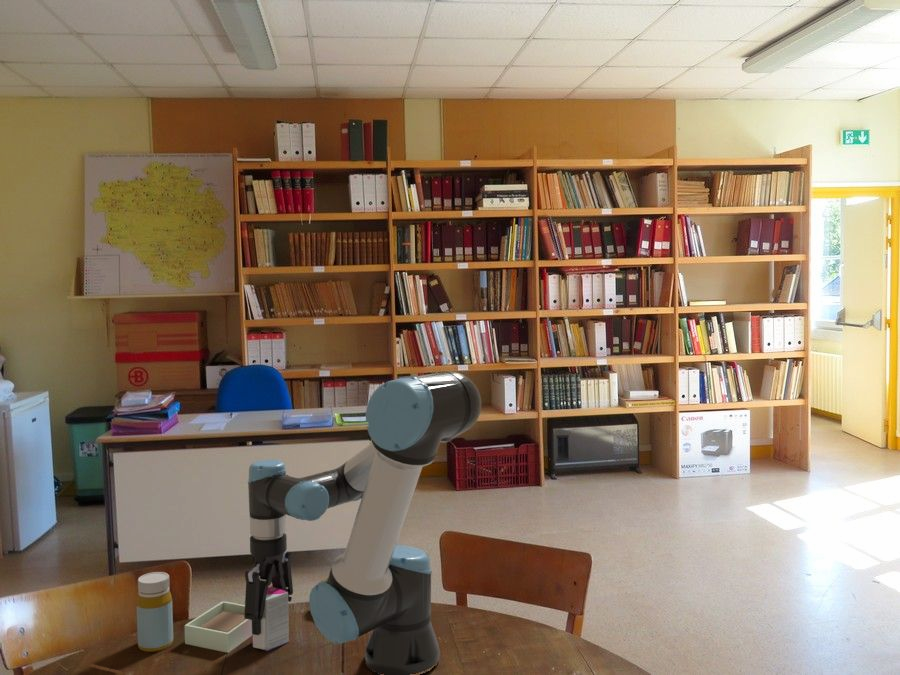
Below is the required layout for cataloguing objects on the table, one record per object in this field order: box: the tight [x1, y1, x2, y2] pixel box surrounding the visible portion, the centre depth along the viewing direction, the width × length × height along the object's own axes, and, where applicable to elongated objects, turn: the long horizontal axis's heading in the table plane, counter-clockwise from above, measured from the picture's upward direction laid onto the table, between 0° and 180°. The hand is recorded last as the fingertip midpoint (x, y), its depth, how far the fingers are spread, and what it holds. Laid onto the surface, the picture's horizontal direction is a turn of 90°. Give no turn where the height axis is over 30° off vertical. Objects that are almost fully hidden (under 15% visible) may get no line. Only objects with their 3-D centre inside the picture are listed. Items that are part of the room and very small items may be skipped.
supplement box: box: [251, 585, 290, 652], centre depth 167 cm, size 6×6×12 cm
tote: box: [184, 600, 252, 653], centre depth 171 cm, size 11×13×4 cm
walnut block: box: [200, 611, 246, 633], centre depth 171 cm, size 7×8×3 cm
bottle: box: [136, 571, 174, 653], centre depth 166 cm, size 7×7×15 cm
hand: (270, 639), depth 167 cm, fingers closed on supplement box, 7 cm apart
